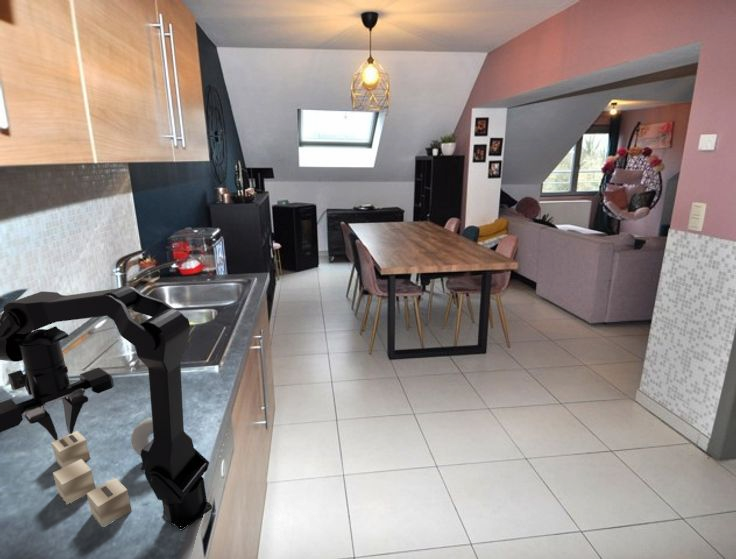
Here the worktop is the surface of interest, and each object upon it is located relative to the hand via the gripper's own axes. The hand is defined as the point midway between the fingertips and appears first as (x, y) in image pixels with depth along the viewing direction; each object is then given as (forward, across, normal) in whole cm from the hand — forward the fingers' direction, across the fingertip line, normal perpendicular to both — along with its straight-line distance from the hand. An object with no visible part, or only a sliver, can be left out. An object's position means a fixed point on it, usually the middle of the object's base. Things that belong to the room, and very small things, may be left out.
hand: (63, 436), depth 82 cm
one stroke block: (+13, -2, +11) cm, 17 cm away
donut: (+13, -15, +3) cm, 20 cm away
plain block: (+13, 0, 0) cm, 13 cm away
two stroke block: (+13, -3, -11) cm, 17 cm away
